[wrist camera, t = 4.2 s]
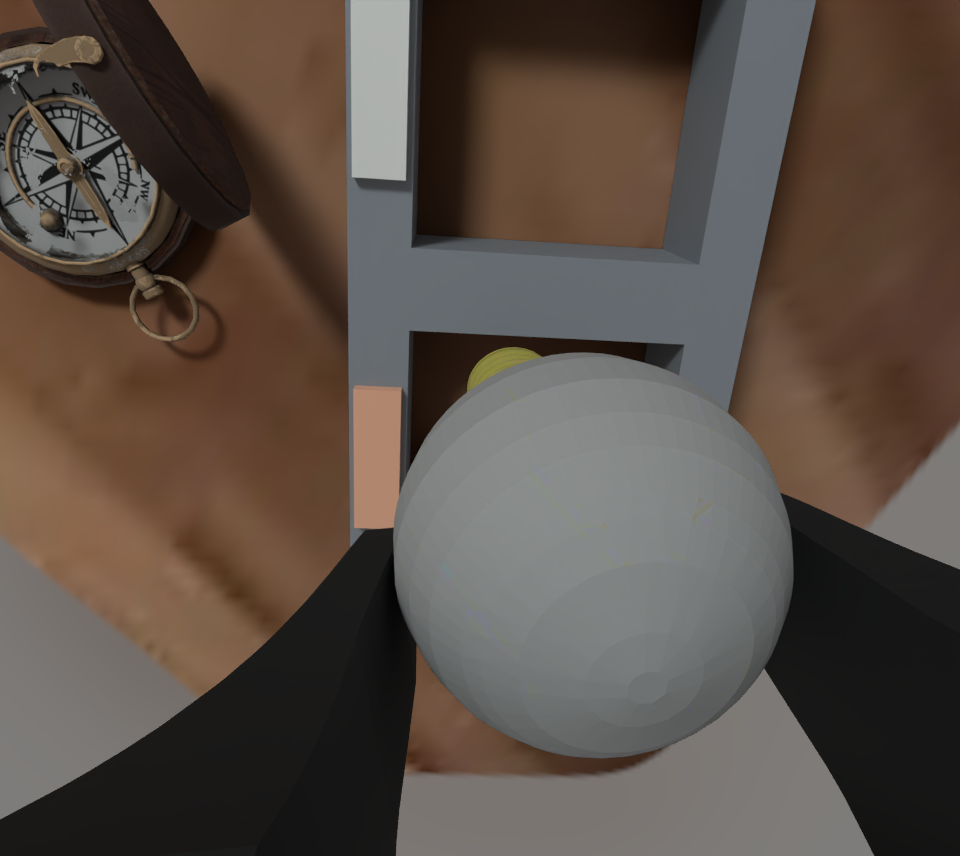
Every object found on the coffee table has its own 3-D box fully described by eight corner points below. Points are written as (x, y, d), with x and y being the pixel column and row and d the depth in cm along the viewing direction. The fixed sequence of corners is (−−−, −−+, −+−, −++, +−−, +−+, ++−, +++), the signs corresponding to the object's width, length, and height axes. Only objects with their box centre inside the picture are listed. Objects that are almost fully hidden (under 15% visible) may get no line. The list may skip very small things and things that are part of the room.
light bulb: (605, 479, 18) (822, 844, 9) (396, 480, 17) (389, 874, 8) (634, 270, 16) (965, 457, 6) (396, 262, 15) (389, 457, 6)
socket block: (781, -110, 16) (860, -172, 13) (655, 563, 23) (686, 625, 20) (361, -151, 15) (340, -227, 12) (362, 555, 23) (349, 617, 19)
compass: (-93, 107, 17) (-443, 76, 10) (171, -47, 16) (-24, -191, 9) (104, 376, 20) (-70, 489, 13) (338, 259, 19) (279, 317, 12)
